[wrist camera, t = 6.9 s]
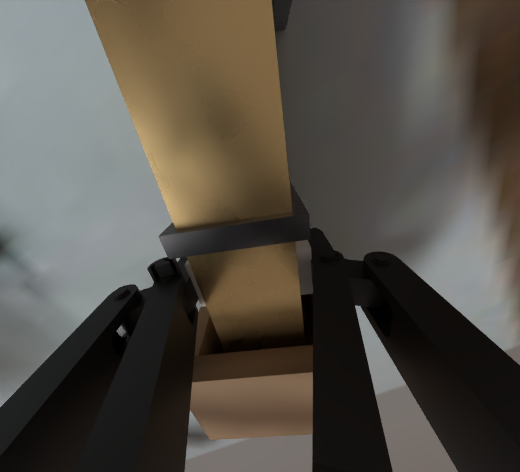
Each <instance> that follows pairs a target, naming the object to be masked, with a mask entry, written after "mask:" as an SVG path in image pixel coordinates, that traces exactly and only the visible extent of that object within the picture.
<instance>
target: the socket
mask: <svg viewBox="0 0 520 472" xmlns="http://www.w3.org/2000/svg"><path fill="white" fill-rule="evenodd" d="M301 304H302V314H303V324H304V334H305V346H295V347H284V348H274V349H263V350H253V351H242V352H232V353H225V352H224V349H223V347H222V344H221V342H220V339H219V337H218V334H217V332H216V329H215V327H214V324H213V322H212V319H211V317H210V314H209V312H208V309H207V307H206V306H203V307H200V310H199V313H198V321H197V333H196V344H195V356H194V367H193V378H192V390H191V401H190V410H191V412H192V413H193V415H194V416H195V418H196V419H197V421H198V422H199V424H200V425H201V427H202V428H203V430H204V431H205V433H206V434H207V436H208V437H209V439H210V440H220V439H237V438H255V437H272V436H288V435H307V434H313V294H305V295H301Z"/></svg>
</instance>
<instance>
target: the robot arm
mask: <svg viewBox="0 0 520 472" xmlns="http://www.w3.org/2000/svg"><path fill="white" fill-rule="evenodd" d="M295 243H296V253H297V263H298V273H299V284H300V294H301V295H305V294H313V468H312V469H313V470H312V472H392V467H391V463H390V458H389V454H388V449H387V445H386V441H385V436H384V432H383V427H382V423H381V418H380V414H379V410H378V406H377V401H376V396H375V392H374V388H373V383H372V379H371V374H370V370H369V366H368V361H367V357H366V353H365V348H364V344H363V339H362V335H361V331H360V326H359V322H358V317H357V313H356V309H355V305H357V306H361V308H362V310H363V311H364V313H365V315H366V317H367V318H368V320H369V322H370V323H371V325H372V327H373V328H374V330H375V332H376V333H377V335H378V337H379V339H380V340H381V342H382V344H383V345H384V347H385V349H386V350H387V352H388V354H389V355H390V357H391V359H392V360H393V362H394V364H395V366H396V367H397V369H398V371H399V372H400V374H401V376H402V377H403V379H404V381H405V382H406V384H407V386H408V387H409V389H410V391H411V392H412V394H413V396H414V398H415V399H416V401H417V403H418V404H419V406H420V408H421V409H422V411H423V413H424V414H425V416H426V418H427V420H428V421H429V423H430V425H431V426H432V428H433V430H434V431H435V433H436V435H437V436H438V438H439V440H440V442H441V443H442V445H443V447H444V448H445V450H446V452H447V453H448V455H449V457H450V458H451V460H452V462H453V463H454V465H455V467H456V469H457V470H458V472H520V365H519V364H517V363H516V362H515V361H514V360H513V359H512V358H511V357H510V356H508V355H507V354H506V353H505V352H504V351H503V350H502V349H501V348H499V347H498V346H497V345H496V344H495V343H494V342H493V341H492V340H490V339H489V338H488V337H487V336H486V335H485V334H484V333H482V332H481V331H480V330H479V329H478V328H477V327H476V326H475V325H473V324H472V323H471V322H470V321H469V320H468V319H467V318H466V317H464V316H463V315H462V314H461V313H460V312H459V311H458V310H456V309H455V308H454V307H453V306H452V305H451V304H450V303H449V302H447V301H446V300H445V299H444V298H443V297H442V296H441V295H440V294H438V293H437V292H436V291H435V290H434V289H433V288H432V287H430V286H429V285H428V284H427V283H426V282H425V281H424V280H423V279H421V278H420V277H419V276H418V275H417V274H416V273H415V272H413V271H412V270H411V269H410V268H409V267H408V266H407V265H406V264H404V263H403V262H402V261H401V260H400V259H399V258H397V257H396V256H394V255H392V254H389V253H386V252H371V253H368V254H366V255H365V257H364V261H357V260H348V259H344V257H343V255H342V254H341V253H339V252H338V251H334V250H333V248H332V247H331V245H330V243H329V242H328V240H327V238H326V237H325V235H324V234H323V232H322V231H321V230H319V229H317V228H312V229H310V240H303V241H296V242H295ZM147 269H148V271H149V273H150V275H151V277H152V279H153V281H154V284H153V287H150V288H147V289H144V290H141V291H139V289H138V287H137V286H136V285H131V284H130V285H126V286H122V287H120V288H118V289H117V290H115V291H114V292H112V293H111V294H110V295H109V296H108V297H107V298H106V299H105V300H104V301H103V302H102V303H101V304H100V305H99V306H98V307H97V308H96V309H95V310H94V311H93V312H92V313H91V314H90V315H89V317H88V318H87V319H86V320H85V321H84V322H83V323H82V324H81V325H80V326H79V327H78V328H77V329H76V330H75V331H74V332H73V333H72V334H71V335H70V336H69V337H68V338H67V339H66V340H65V341H64V342H63V343H62V344H61V345H60V346H59V348H58V349H57V350H56V351H55V352H54V353H53V354H52V355H51V356H50V357H49V358H48V359H47V360H46V361H45V362H44V363H43V364H42V365H41V366H40V367H39V368H38V369H37V370H36V371H35V372H34V373H33V374H32V375H31V376H30V377H29V378H28V380H27V381H26V382H25V383H24V384H23V385H22V386H21V387H20V388H19V389H18V390H17V391H16V392H15V393H14V394H13V395H12V396H11V397H10V398H9V399H8V400H7V401H6V402H5V403H4V404H3V405H2V406H1V407H0V472H184V470H185V458H186V447H187V436H188V424H189V413H190V401H191V390H192V378H193V367H194V356H195V344H196V333H197V321H198V309H197V307H196V303H197V301H198V299H199V302H200V304H201V307H203V306H206V304H205V302H204V299H203V297H202V294H201V291H200V289H199V286H198V284H197V281H196V279H195V276H194V274H193V271H192V269H191V266H190V264H189V261H188V259H187V257H181V258H180V259H179V261H178V263H177V261H176V259H175V258H174V259H168V257H166V258H162V259H159V260H157V261H155V262H154V263H152V264H151V265H150V266H149V267H148V268H147ZM120 326H122V327H123V328H124V330H125V331H126V333H125V334H124V335H123V336H122V337H121V336H120V335H119V334H118V333H117V330H118V328H119V327H120Z"/></svg>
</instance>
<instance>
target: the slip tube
mask: <svg viewBox="0 0 520 472" xmlns="http://www.w3.org/2000/svg"><path fill="white" fill-rule="evenodd" d="M85 2H86V4H87V7H88V10H89V12H90V15H91V17H92V20H93V22H94V25H95V27H96V30H97V32H98V35H99V37H100V40H101V42H102V45H103V47H104V50H105V52H106V55H107V57H108V60H109V62H110V65H111V67H112V70H113V72H114V75H115V77H116V80H117V83H118V85H119V88H120V90H121V93H122V95H123V98H124V100H125V103H126V105H127V108H128V110H129V113H130V115H131V118H132V120H133V123H134V125H135V128H136V130H137V133H138V135H139V138H140V140H141V143H142V145H143V148H144V150H145V153H146V156H147V158H148V161H149V163H150V166H151V168H152V171H153V173H154V176H155V178H156V181H157V183H158V186H159V188H160V191H161V193H162V196H163V198H164V201H165V203H166V206H167V208H168V211H169V213H170V216H171V218H172V221H173V223H172V224H171V225H170V226H169V227H168V228H167V229H166V230H165V231H163V232H162V233H161V234H160V235H159V239H160V241H161V243H162V245H163V247H164V250H165V252H166V254H167V256H168V259H174V258H181V257H187V259H188V261H189V264H190V266H191V269H192V271H193V274H194V276H195V279H196V281H197V284H198V286H199V289H200V291H201V294H202V297H203V299H204V302H205V304H206V307H207V309H208V312H209V314H210V317H211V319H212V322H213V324H214V327H215V329H216V332H217V334H218V337H219V339H220V342H221V344H222V347H223V349H224V352H225V353H232V352H242V351H253V350H263V349H274V348H284V347H295V346H305V334H304V324H303V314H302V304H301V294H300V284H299V273H298V263H297V253H296V243H295V242H296V241H303V240H310V226H309V213H308V212H307V210H306V208H305V206H304V205H303V203H302V201H301V200H300V198H299V196H298V194H297V193H296V191H295V189H294V188H293V186H292V184H291V183H290V181H289V172H288V162H287V151H286V141H285V131H284V121H283V111H282V101H281V90H280V80H279V70H278V60H277V50H276V40H275V29H274V19H273V9H272V0H85Z"/></svg>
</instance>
